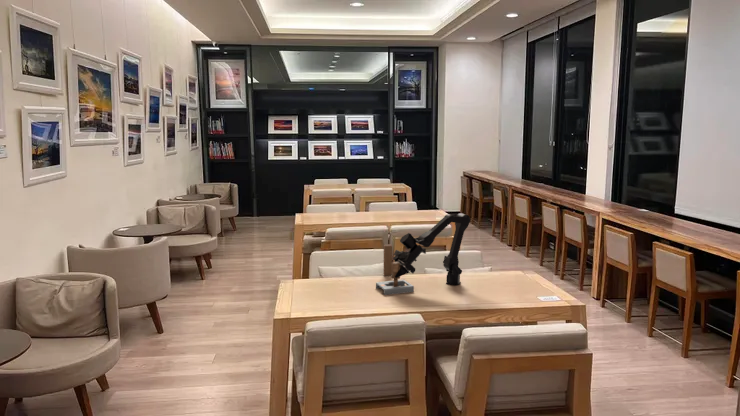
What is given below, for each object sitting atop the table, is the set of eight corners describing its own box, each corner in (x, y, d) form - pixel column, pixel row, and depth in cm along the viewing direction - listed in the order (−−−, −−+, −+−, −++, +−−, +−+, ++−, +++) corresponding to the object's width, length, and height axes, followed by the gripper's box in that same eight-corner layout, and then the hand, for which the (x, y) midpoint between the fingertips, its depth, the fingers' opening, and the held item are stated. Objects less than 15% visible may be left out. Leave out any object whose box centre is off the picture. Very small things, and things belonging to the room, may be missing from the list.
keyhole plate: (404, 285, 297) (404, 279, 296) (413, 291, 284) (413, 285, 284) (375, 287, 291) (375, 282, 291) (384, 294, 279) (384, 288, 279)
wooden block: (398, 273, 319) (398, 244, 317) (399, 275, 315) (399, 245, 312) (383, 274, 319) (383, 244, 316) (384, 276, 314) (384, 245, 312)
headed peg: (403, 289, 287) (403, 263, 285) (393, 291, 284) (394, 265, 282) (397, 286, 292) (397, 261, 290) (388, 288, 289) (388, 262, 287)
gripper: (396, 241, 294) (377, 262, 292) (410, 248, 277) (390, 271, 275) (409, 254, 298) (390, 275, 296) (423, 262, 281) (404, 284, 279)
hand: (393, 276), depth 286 cm, fingers closed on headed peg, 4 cm apart
